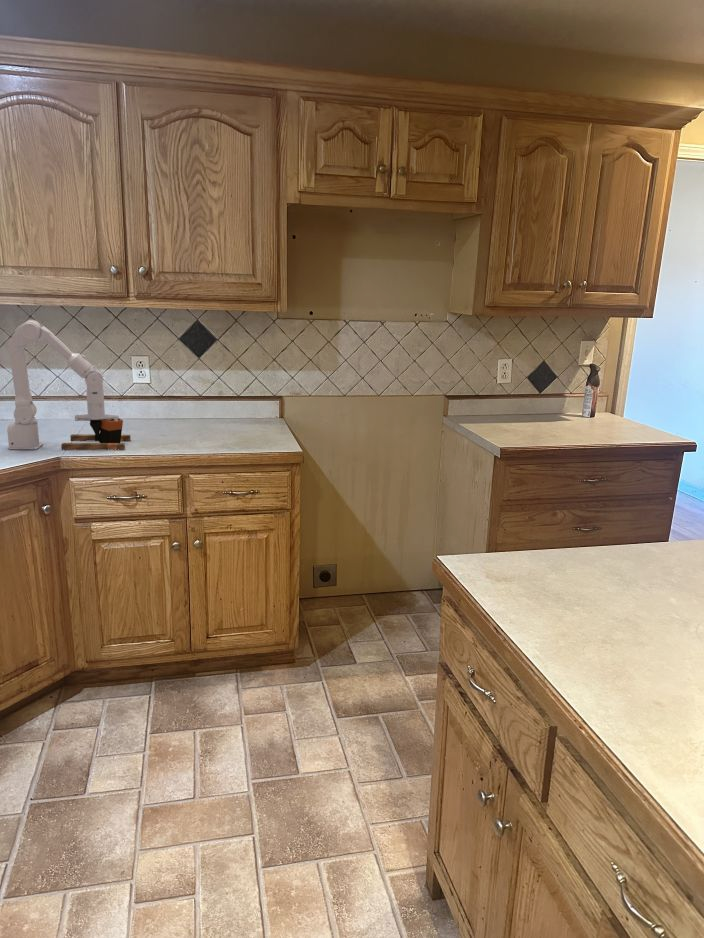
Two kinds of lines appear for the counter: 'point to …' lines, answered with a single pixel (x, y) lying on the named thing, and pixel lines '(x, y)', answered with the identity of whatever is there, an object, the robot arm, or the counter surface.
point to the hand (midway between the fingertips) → (97, 440)
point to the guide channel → (93, 445)
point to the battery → (110, 431)
